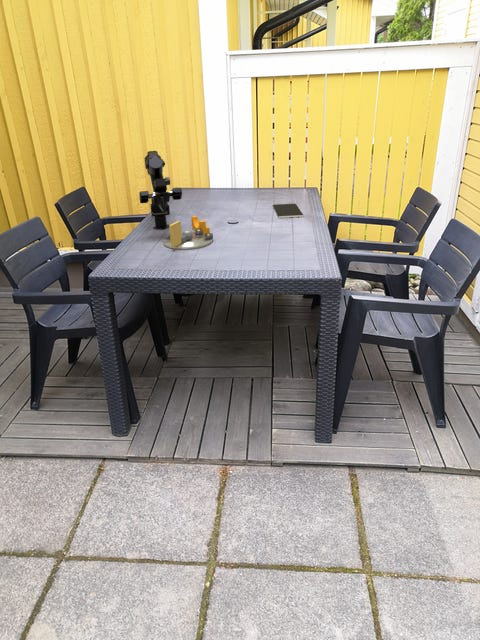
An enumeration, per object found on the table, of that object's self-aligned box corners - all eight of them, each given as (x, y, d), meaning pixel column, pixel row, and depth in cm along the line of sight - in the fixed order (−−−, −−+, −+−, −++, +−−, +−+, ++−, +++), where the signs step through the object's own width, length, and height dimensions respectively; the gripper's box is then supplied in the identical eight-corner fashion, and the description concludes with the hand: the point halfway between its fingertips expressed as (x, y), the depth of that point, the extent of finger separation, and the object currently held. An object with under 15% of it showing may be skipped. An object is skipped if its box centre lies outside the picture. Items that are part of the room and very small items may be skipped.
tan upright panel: (186, 236, 217) (184, 216, 212) (194, 237, 215) (192, 216, 211) (168, 246, 204) (165, 225, 200) (177, 247, 203) (174, 225, 198)
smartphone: (278, 220, 245) (278, 216, 245) (272, 207, 269) (272, 204, 269) (304, 218, 246) (304, 215, 245) (295, 206, 270) (295, 203, 269)
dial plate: (176, 233, 227) (175, 227, 226) (219, 236, 221) (219, 229, 220) (154, 248, 209) (154, 241, 207) (201, 251, 202) (201, 244, 201)
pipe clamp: (210, 234, 225) (209, 220, 222) (201, 235, 223) (200, 222, 220) (200, 228, 235) (199, 215, 232) (192, 229, 233) (191, 216, 230)
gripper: (136, 172, 206) (143, 203, 201) (179, 169, 211) (186, 199, 206) (137, 187, 216) (143, 217, 212) (177, 184, 221) (184, 213, 216)
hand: (164, 211), depth 211 cm, fingers closed
